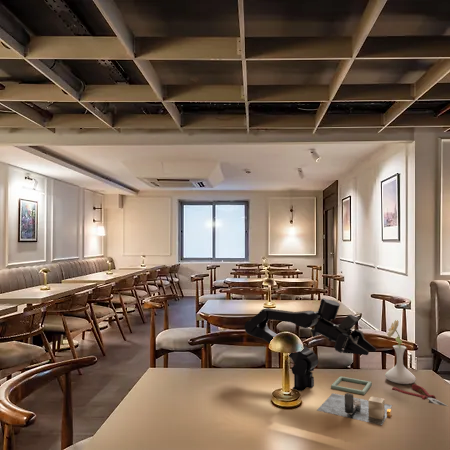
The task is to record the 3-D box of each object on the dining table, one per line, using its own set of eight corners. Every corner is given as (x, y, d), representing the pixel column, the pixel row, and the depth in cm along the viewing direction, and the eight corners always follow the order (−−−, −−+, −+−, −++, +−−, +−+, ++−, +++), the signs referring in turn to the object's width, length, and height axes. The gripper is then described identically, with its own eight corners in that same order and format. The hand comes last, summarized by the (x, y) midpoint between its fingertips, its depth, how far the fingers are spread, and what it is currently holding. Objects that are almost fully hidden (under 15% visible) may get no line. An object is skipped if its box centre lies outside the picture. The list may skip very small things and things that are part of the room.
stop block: (368, 416, 123) (368, 400, 123) (371, 412, 127) (371, 396, 127) (382, 419, 121) (381, 403, 121) (384, 414, 124) (384, 398, 125)
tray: (331, 392, 147) (330, 385, 147) (340, 382, 157) (340, 376, 157) (364, 399, 141) (364, 391, 141) (371, 388, 151) (371, 381, 151)
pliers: (434, 415, 129) (434, 407, 129) (390, 393, 148) (390, 386, 148) (461, 410, 132) (460, 402, 132) (414, 389, 151) (414, 382, 151)
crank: (350, 403, 132) (350, 385, 133) (361, 406, 130) (361, 387, 131) (342, 414, 124) (342, 395, 124) (354, 417, 122) (353, 397, 122)
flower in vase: (388, 375, 166) (387, 315, 167) (418, 380, 160) (417, 317, 161) (380, 384, 156) (379, 319, 157) (412, 390, 149) (410, 323, 150)
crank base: (316, 414, 128) (316, 405, 128) (332, 397, 142) (332, 388, 142) (385, 431, 117) (385, 420, 117) (395, 410, 131) (395, 401, 131)
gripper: (329, 311, 137) (372, 332, 128) (347, 309, 152) (387, 328, 143) (318, 341, 138) (360, 364, 128) (337, 336, 153) (376, 356, 143)
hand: (372, 352), depth 136 cm, fingers open, 9 cm apart
